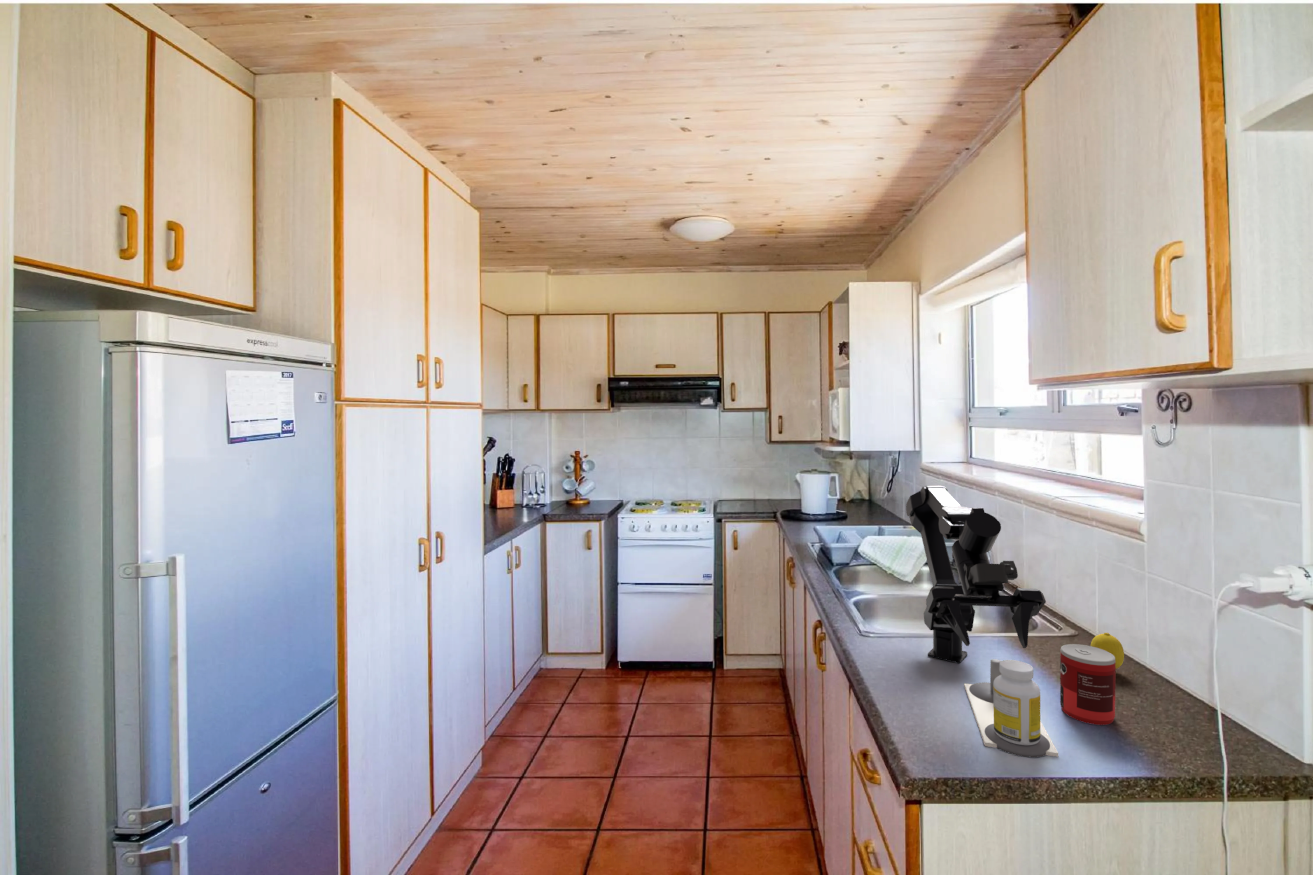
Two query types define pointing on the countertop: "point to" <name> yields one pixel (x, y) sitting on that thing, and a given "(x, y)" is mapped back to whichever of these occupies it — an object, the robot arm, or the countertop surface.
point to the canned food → (1087, 684)
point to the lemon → (1109, 646)
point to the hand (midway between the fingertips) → (996, 645)
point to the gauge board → (984, 716)
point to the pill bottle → (1016, 703)
